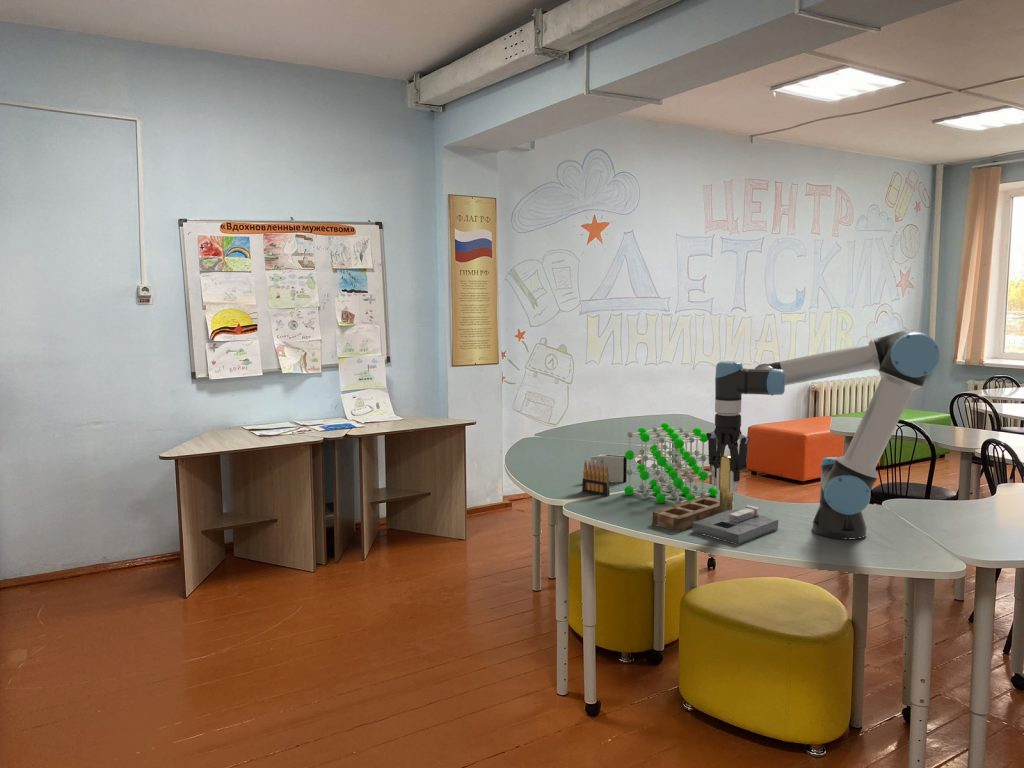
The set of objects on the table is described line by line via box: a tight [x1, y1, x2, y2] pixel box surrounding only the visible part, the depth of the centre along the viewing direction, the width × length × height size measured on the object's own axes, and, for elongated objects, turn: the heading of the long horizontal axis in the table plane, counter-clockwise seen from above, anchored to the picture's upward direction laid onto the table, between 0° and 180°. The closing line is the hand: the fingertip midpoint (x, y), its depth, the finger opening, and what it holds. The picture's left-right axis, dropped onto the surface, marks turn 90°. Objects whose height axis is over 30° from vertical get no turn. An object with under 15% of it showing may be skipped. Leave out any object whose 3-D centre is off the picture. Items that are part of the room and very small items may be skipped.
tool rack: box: [651, 495, 728, 532], centre depth 244 cm, size 10×28×4 cm, turn 131°
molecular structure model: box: [623, 422, 719, 505], centre depth 271 cm, size 24×25×24 cm
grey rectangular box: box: [590, 454, 628, 483], centre depth 294 cm, size 14×5×10 cm, turn 84°
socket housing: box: [691, 508, 779, 545], centre depth 232 cm, size 16×22×3 cm
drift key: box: [729, 504, 761, 523], centre depth 235 cm, size 4×12×2 cm, turn 131°
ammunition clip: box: [581, 459, 611, 497], centre depth 275 cm, size 11×2×12 cm, turn 53°
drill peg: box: [719, 454, 735, 510], centre depth 227 cm, size 4×4×16 cm
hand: (726, 490), depth 227 cm, fingers closed on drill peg, 4 cm apart
